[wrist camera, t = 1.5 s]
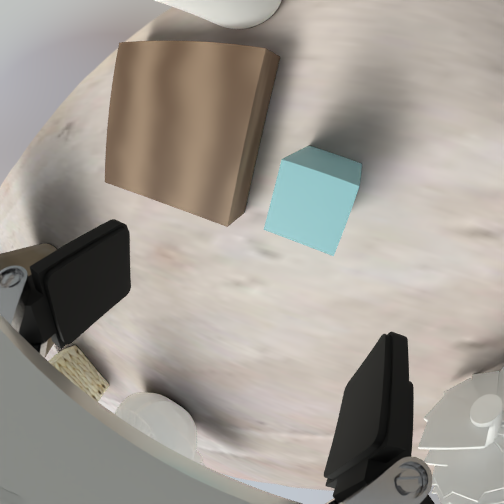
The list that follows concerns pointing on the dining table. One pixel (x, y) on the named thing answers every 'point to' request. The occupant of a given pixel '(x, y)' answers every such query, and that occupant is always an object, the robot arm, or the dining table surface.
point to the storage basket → (80, 371)
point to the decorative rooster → (162, 422)
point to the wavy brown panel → (189, 123)
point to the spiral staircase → (468, 441)
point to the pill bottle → (228, 11)
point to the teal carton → (313, 198)
